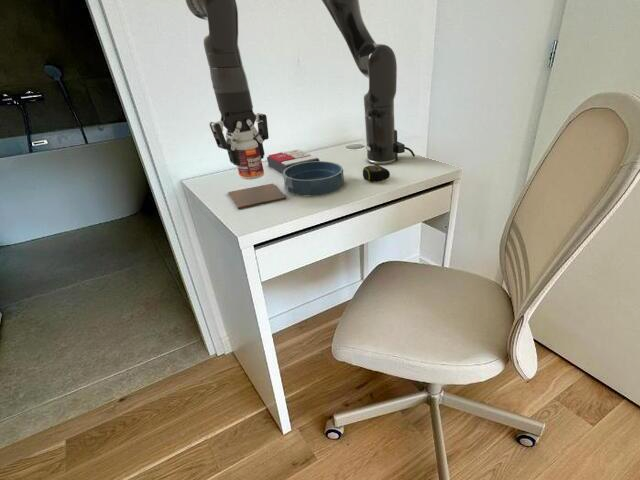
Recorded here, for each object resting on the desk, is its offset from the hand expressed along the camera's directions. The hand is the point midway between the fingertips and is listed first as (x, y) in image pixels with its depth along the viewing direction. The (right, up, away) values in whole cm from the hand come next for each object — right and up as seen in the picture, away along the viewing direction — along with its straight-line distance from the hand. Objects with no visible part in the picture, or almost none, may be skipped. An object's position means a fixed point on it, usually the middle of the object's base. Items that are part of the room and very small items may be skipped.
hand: (248, 161), depth 98 cm
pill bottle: (0, -3, +2) cm, 4 cm away
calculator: (+4, +5, +24) cm, 25 cm away
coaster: (0, -8, +5) cm, 9 cm away
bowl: (+14, -3, +12) cm, 19 cm away
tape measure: (+31, -1, +16) cm, 35 cm away
